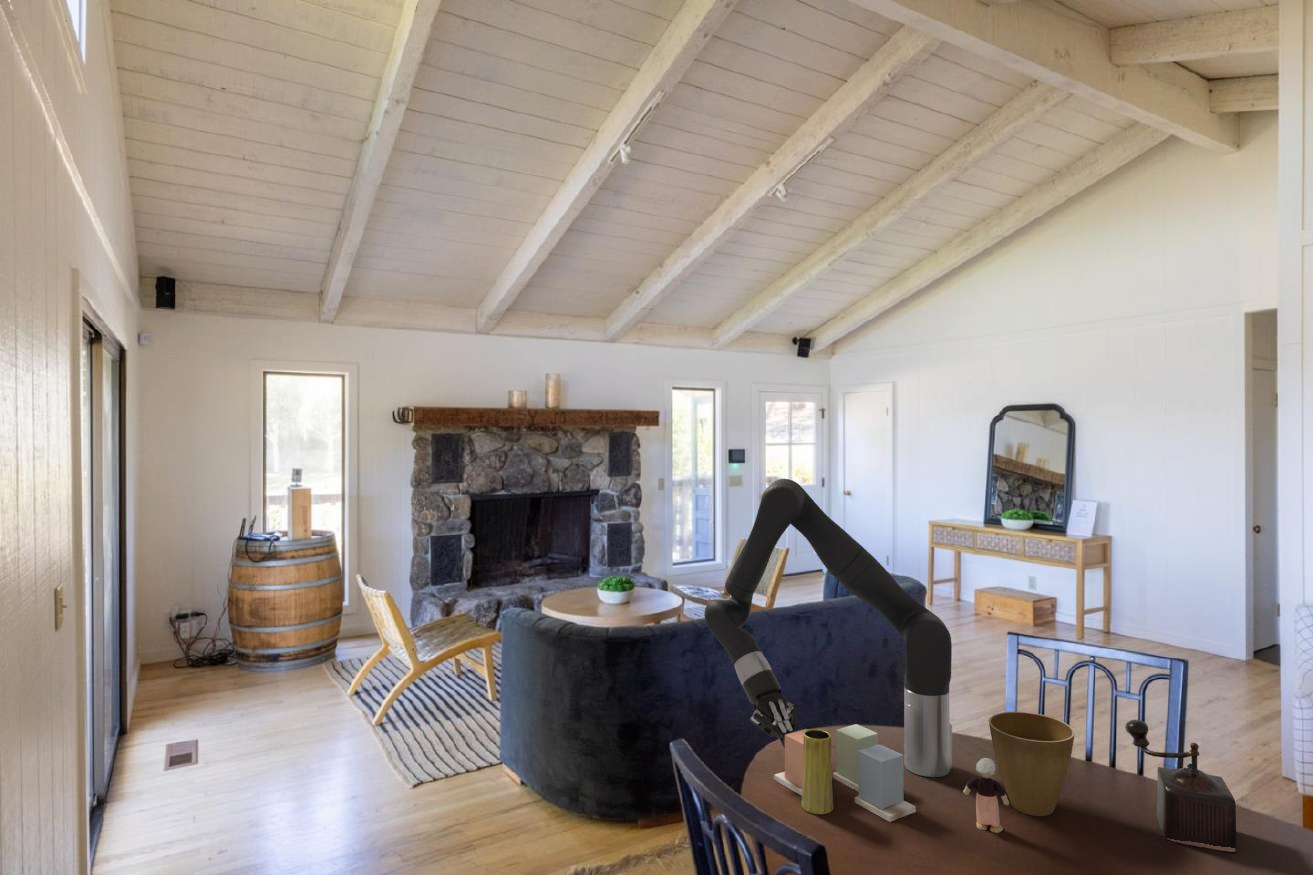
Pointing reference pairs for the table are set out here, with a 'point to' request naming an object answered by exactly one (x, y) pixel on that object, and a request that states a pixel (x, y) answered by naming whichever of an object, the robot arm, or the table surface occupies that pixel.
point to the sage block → (852, 748)
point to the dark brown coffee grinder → (1190, 798)
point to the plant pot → (1032, 758)
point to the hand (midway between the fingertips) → (794, 751)
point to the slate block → (880, 776)
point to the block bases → (858, 798)
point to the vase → (817, 772)
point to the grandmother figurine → (987, 796)
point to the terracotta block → (794, 757)
